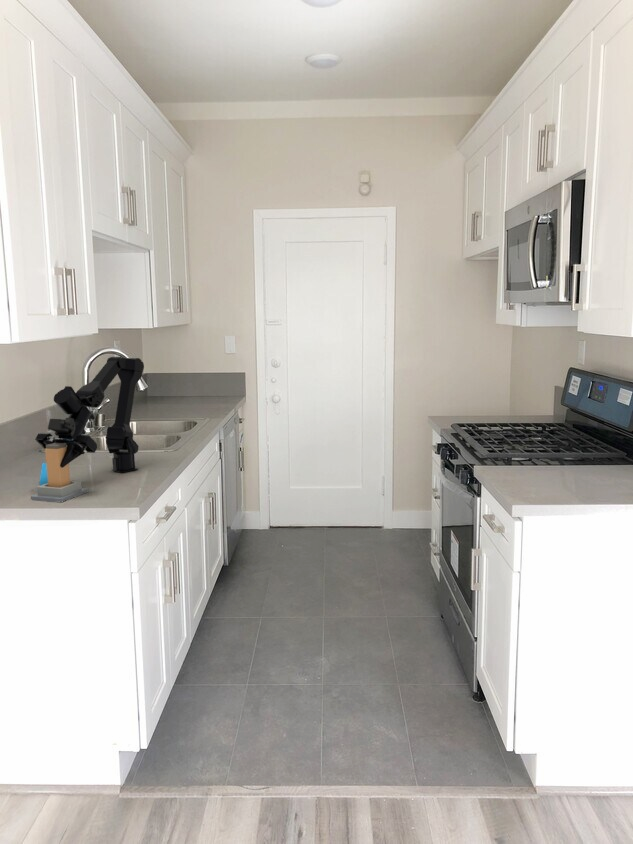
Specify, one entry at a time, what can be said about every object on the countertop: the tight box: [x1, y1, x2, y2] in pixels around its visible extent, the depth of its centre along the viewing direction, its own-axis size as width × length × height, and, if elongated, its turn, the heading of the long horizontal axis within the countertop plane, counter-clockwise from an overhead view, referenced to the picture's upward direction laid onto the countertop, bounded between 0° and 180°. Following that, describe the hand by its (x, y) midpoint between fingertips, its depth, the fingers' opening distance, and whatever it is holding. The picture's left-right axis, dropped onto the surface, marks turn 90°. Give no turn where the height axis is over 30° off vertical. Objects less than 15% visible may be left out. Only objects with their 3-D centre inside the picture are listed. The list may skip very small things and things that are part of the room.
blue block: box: [39, 462, 48, 486], centre depth 220 cm, size 7×7×18 cm
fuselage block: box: [44, 443, 71, 488], centre depth 203 cm, size 4×4×13 cm
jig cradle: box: [30, 480, 89, 503], centre depth 204 cm, size 12×11×4 cm
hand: (54, 466), depth 202 cm, fingers closed on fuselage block, 4 cm apart
